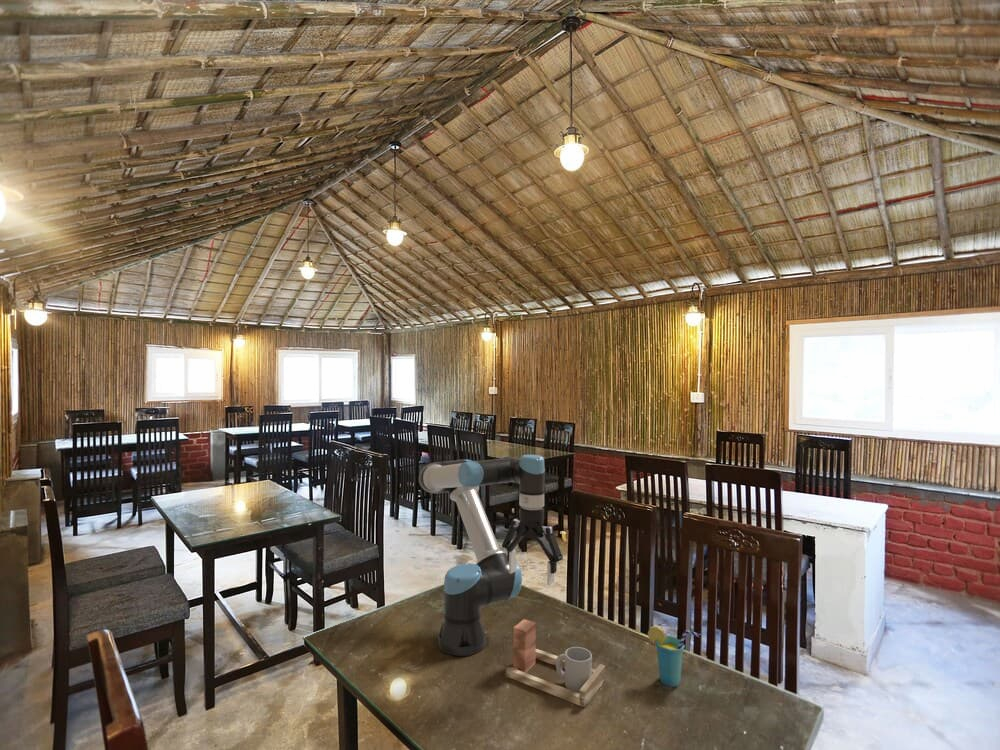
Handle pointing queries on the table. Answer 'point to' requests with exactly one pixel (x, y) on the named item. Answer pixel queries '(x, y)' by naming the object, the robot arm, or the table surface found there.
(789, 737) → the table surface
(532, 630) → the frame
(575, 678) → the cup
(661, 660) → the cup
